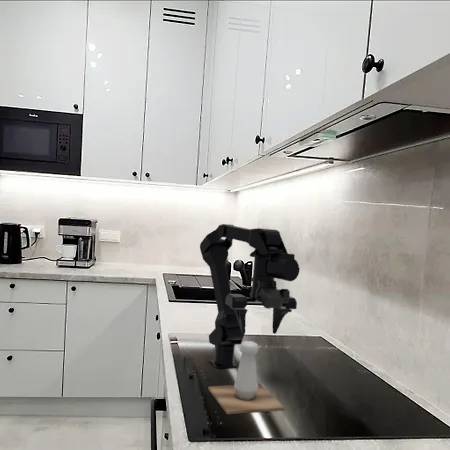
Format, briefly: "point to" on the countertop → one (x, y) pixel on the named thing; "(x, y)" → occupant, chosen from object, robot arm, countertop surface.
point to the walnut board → (236, 405)
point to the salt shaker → (247, 372)
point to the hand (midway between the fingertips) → (258, 333)
